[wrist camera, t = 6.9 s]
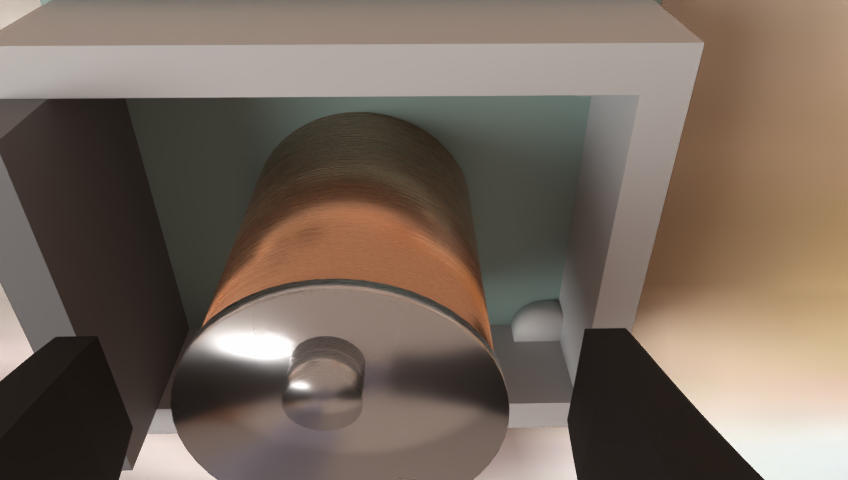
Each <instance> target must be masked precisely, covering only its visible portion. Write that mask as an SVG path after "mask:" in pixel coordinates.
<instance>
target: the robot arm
mask: <svg viewBox="0 0 848 480" xmlns="http://www.w3.org/2000/svg"><path fill="white" fill-rule="evenodd" d="M567 423H568V429H569V434H570V440H571V446H572V452H573V458H574V463H575V469H576V474H577V479H578V480H764V479H763V478H762V477H761V476H760V475H759V474H758V473H757V472H756V471H755V470H754V469H753V468H752V467H751V466H750V465H749V464H748V463H747V462H746V461H745V460H744V459H743V458H742V457H741V455H740V454H739V453H738V452H737V451H736V450H735V449H734V448H733V447H732V446H731V445H730V444H729V443H728V442H727V441H726V440H725V439H724V438H723V436H722V435H721V434H720V433H719V432H718V431H717V430H716V429H715V428H714V427H713V426H712V425H711V424H710V423H709V422H708V421H707V419H706V418H705V417H704V416H703V415H702V414H701V413H700V412H699V411H698V410H697V409H696V407H695V406H694V405H693V404H692V403H691V402H690V401H689V400H688V399H687V397H686V396H685V395H684V394H683V393H682V392H681V391H680V390H679V388H678V387H677V386H676V385H675V384H674V383H673V382H672V380H671V379H670V378H669V377H668V376H667V375H666V374H665V372H664V371H663V370H662V369H661V368H660V367H659V366H658V364H657V363H656V362H655V361H654V360H653V359H652V357H651V356H650V355H649V354H648V353H647V352H646V350H645V349H644V348H643V347H642V346H641V345H640V343H639V342H638V341H637V340H636V339H635V338H634V337H633V335H632V334H631V333H630V332H629V331H628V330H627V329H626V328H592V329H585V330H584V335H583V341H582V346H581V351H580V356H579V361H578V366H577V372H576V377H575V382H574V387H573V392H572V397H571V403H570V408H569V413H568V418H567ZM132 430H133V426H132V424H131V421H130V419H129V416H128V414H127V411H126V408H125V406H124V403H123V401H122V398H121V395H120V393H119V390H118V388H117V385H116V383H115V380H114V377H113V375H112V372H111V370H110V367H109V364H108V362H107V359H106V357H105V354H104V352H103V349H102V346H101V344H100V341H99V339H98V336H64V337H55V338H53V339H52V340H51V341H49V342H48V343H47V344H46V345H44V346H43V347H42V348H40V349H39V350H38V351H37V352H35V353H34V354H33V355H32V356H30V357H29V358H28V359H27V360H26V361H24V362H23V363H22V364H21V365H20V366H18V367H17V368H16V369H15V370H13V371H12V372H11V373H10V374H9V375H7V376H6V377H5V378H4V379H3V380H2V381H0V480H119V477H120V474H121V471H122V467H123V464H124V460H125V457H126V453H127V449H128V445H129V442H130V438H131V434H132Z"/></svg>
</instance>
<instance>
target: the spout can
mask: <svg viewBox="0 0 848 480" xmlns="http://www.w3.org/2000/svg"><path fill="white" fill-rule="evenodd" d="M171 411H172V417H173V422H174V425H175V427H176V430H177V433H178V435H179V437H180V439H181V440H182V442H183V444H184V446H185V447H186V449H187V450H188V452H189V453H190V454H191V455H192V456H193V458H194V459H195V460H196V461H197V462H198V463H199V464H200V465H201V466H202V467H203V468H204V469H205V470H206V471H207V472H208V473H209V474H211V475H212V476H213V477H215V478H216V479H217V480H473V479H474V478H475V477H477V476H478V475H479V474H480V473H481V472H482V471H483V470H484V469H485V468H486V467H487V466H488V465H489V464H490V462H491V461H492V459H493V458H494V457H495V455H496V454H497V452H498V451H499V449H500V447H501V445H502V443H503V440H504V438H505V435H506V431H507V428H508V424H509V411H510V409H509V400H508V393H507V387H506V381H505V377H504V374H503V371H502V368H501V364H500V362H499V360H498V359H497V357H496V355H495V353H494V350H493V343H492V337H491V331H490V324H489V318H488V311H487V305H486V299H485V292H484V286H483V279H482V273H481V267H480V260H479V254H478V248H477V241H476V235H475V228H474V222H473V216H472V209H471V203H470V196H469V190H468V186H467V183H466V180H465V177H464V175H463V173H462V170H461V168H460V166H459V165H458V163H457V162H456V160H455V159H454V157H453V156H452V154H451V153H450V152H449V151H448V150H447V149H446V148H445V146H444V145H443V144H442V143H440V142H439V141H438V140H437V139H436V138H435V137H433V136H432V135H431V134H429V133H428V132H426V131H425V130H423V129H421V128H420V127H418V126H416V125H414V124H412V123H410V122H408V121H405V120H402V119H399V118H396V117H393V116H389V115H384V114H379V113H370V112H346V113H340V114H333V115H329V116H326V117H323V118H319V119H316V120H314V121H312V122H310V123H307V124H305V125H303V126H302V127H300V128H298V129H297V130H295V131H293V132H292V133H291V134H290V135H288V136H287V137H286V138H285V139H284V140H282V141H281V142H280V143H279V145H278V146H277V147H276V148H275V149H274V150H273V151H272V153H271V155H270V156H269V158H268V159H267V161H266V162H265V165H264V167H263V169H262V171H261V174H260V176H259V179H258V181H257V184H256V187H255V189H254V192H253V194H252V197H251V200H250V202H249V205H248V208H247V210H246V213H245V215H244V218H243V221H242V223H241V226H240V228H239V231H238V234H237V236H236V239H235V241H234V244H233V247H232V249H231V252H230V254H229V257H228V260H227V262H226V265H225V268H224V270H223V273H222V275H221V278H220V281H219V283H218V286H217V288H216V291H215V294H214V296H213V299H212V301H211V304H210V307H209V309H208V312H207V315H206V317H205V320H204V322H203V325H202V328H201V329H200V330H199V331H198V332H197V333H196V334H195V336H194V337H193V339H192V340H191V341H190V343H189V344H188V346H187V348H186V350H185V352H184V355H183V357H182V359H181V361H180V364H179V366H178V369H177V371H176V374H175V376H174V381H173V385H172V389H171Z"/></svg>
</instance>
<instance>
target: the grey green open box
mask: <svg viewBox="0 0 848 480" xmlns="http://www.w3.org/2000/svg"><path fill="white" fill-rule="evenodd" d="M40 1H41V4H42V6H41V7H39V8H37V9H36V10H34V11H32V12H31V13H29V14H27V15H25V16H24V17H22V18H20V19H19V20H17V21H15V22H13V23H12V24H10V25H8V26H7V27H5V28H3V29H1V30H0V283H1V285H2V287H3V289H4V291H5V293H6V295H7V297H8V299H9V302H10V304H11V306H12V308H13V310H14V312H15V314H16V316H17V318H18V320H19V322H20V325H21V327H22V329H23V331H24V333H25V335H26V337H27V339H28V341H29V343H30V345H31V348H32V350H33V352H34V353H35V352H37V351H38V350H39V349H40V348H42V347H43V346H44V345H46V344H47V343H48V342H49V341H51V340H52V339H53V338H55V337H64V336H98V339H99V341H100V344H101V346H102V349H103V352H104V354H105V357H106V359H107V362H108V364H109V367H110V370H111V372H112V375H113V377H114V380H115V383H116V385H117V388H118V390H119V393H120V395H121V398H122V401H123V403H124V406H125V408H126V411H127V414H128V416H129V419H130V421H131V424H132V426H133V430H132V434H131V438H130V442H129V445H128V449H127V453H126V457H125V460H124V464H123V467H122V470H133V467H134V465H135V462H136V460H137V457H138V455H139V452H140V450H141V447H142V445H143V442H144V440H145V437H146V435H147V434H175V433H177V430H176V427H175V425H174V422H173V417H172V411H171V389H172V385H173V381H174V376H175V374H176V371H177V369H178V366H179V364H180V361H181V359H182V357H183V355H184V352H185V350H186V348H187V346H188V344H189V343H190V341H191V340H192V339H193V337H194V336H195V334H196V333H197V332H198V331H199V330H200V329H201V328H202V325H203V322H204V320H205V317H206V315H207V312H208V309H209V307H210V304H211V301H212V299H213V296H214V294H215V291H216V288H217V286H218V283H219V281H220V278H221V275H222V273H223V270H224V268H225V265H226V262H227V260H228V257H229V254H230V252H231V249H232V247H233V244H234V241H235V239H236V236H237V234H238V231H239V228H240V226H241V223H242V221H243V218H244V215H245V213H246V210H247V208H248V205H249V202H250V200H251V197H252V194H253V192H254V189H255V187H256V184H257V181H258V179H259V176H260V174H261V171H262V169H263V167H264V165H265V162H266V161H267V159H268V158H269V156H270V155H271V153H272V151H273V150H274V149H275V148H276V147H277V146H278V145H279V143H280V142H281V141H282V140H284V139H285V138H286V137H287V136H288V135H290V134H291V133H292V132H293V131H295V130H297V129H298V128H300V127H302V126H303V125H305V124H307V123H310V122H312V121H314V120H316V119H319V118H323V117H326V116H329V115H333V114H340V113H346V112H370V113H379V114H384V115H389V116H393V117H396V118H399V119H402V120H405V121H408V122H410V123H412V124H414V125H416V126H418V127H420V128H421V129H423V130H425V131H426V132H428V133H429V134H431V135H432V136H433V137H435V138H436V139H437V140H438V141H439V142H440V143H442V144H443V145H444V146H445V148H446V149H447V150H448V151H449V152H450V153H451V154H452V156H453V157H454V159H455V160H456V162H457V163H458V165H459V166H460V168H461V170H462V173H463V175H464V177H465V180H466V183H467V186H468V190H469V196H470V203H471V209H472V216H473V222H474V228H475V235H476V241H477V248H478V254H479V260H480V267H481V273H482V279H483V286H484V292H485V299H486V305H487V311H488V318H489V324H490V331H491V337H492V343H493V350H494V353H495V355H496V357H497V359H498V360H499V362H500V364H501V368H502V371H503V374H504V377H505V381H506V387H507V393H508V400H509V409H510V411H509V424H508V428H537V427H568V423H567V418H568V413H569V408H570V403H571V397H572V392H573V387H574V382H575V377H576V372H577V366H578V361H579V356H580V351H581V346H582V341H583V335H584V330H585V329H592V328H626V329H627V330H628V331H629V332H630V333H631V332H632V328H633V324H634V320H635V316H636V312H637V308H638V304H639V300H640V296H641V292H642V288H643V284H644V281H645V277H646V273H647V269H648V265H649V261H650V257H651V253H652V249H653V245H654V241H655V237H656V233H657V229H658V225H659V221H660V217H661V213H662V209H663V205H664V202H665V198H666V194H667V190H668V186H669V182H670V178H671V174H672V170H673V166H674V162H675V158H676V154H677V150H678V146H679V142H680V138H681V134H682V130H683V127H684V123H685V119H686V115H687V111H688V107H689V103H690V99H691V95H692V91H693V87H694V83H695V79H696V75H697V71H698V67H699V63H700V59H701V55H702V51H703V48H704V44H705V43H704V42H703V41H702V40H701V39H700V38H698V37H697V36H696V35H695V34H694V33H693V32H691V31H690V30H689V29H688V28H687V27H685V26H684V25H683V24H682V23H681V22H679V21H678V20H677V19H676V18H675V17H673V16H672V15H671V14H670V13H669V12H667V11H666V10H665V9H664V8H663V7H662V6H661V3H662V0H40Z"/></svg>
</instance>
